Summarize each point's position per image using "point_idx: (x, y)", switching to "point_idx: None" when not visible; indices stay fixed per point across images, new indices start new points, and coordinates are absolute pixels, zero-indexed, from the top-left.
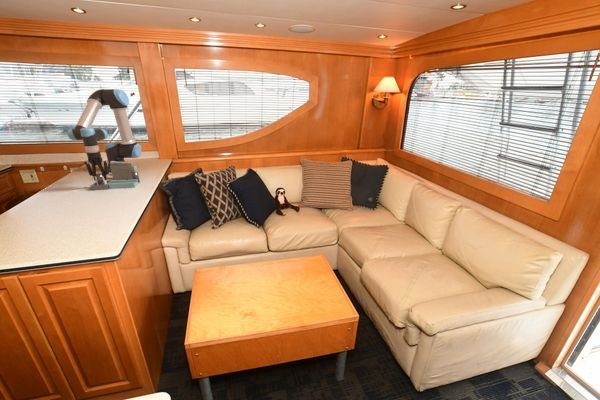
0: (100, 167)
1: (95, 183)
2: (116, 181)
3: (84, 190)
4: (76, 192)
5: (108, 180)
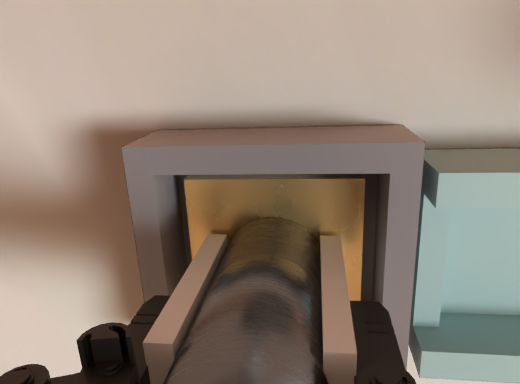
0: None
1: (167, 273)
2: (518, 203)
3: (87, 307)
4: (40, 357)
5: (340, 143)
